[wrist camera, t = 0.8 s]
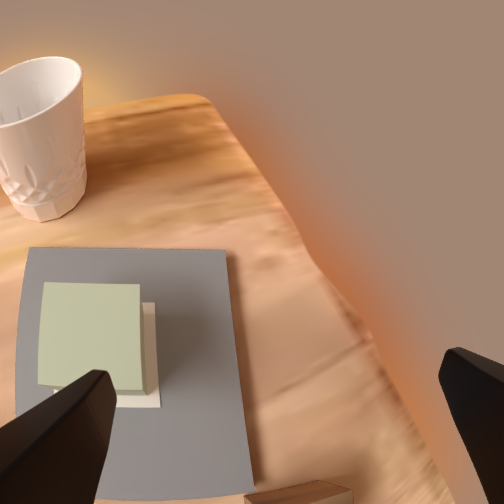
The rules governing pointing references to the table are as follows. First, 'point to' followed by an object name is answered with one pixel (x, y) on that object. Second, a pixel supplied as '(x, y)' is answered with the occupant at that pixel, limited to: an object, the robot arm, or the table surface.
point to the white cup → (42, 137)
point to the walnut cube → (304, 495)
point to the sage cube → (92, 335)
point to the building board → (157, 371)
